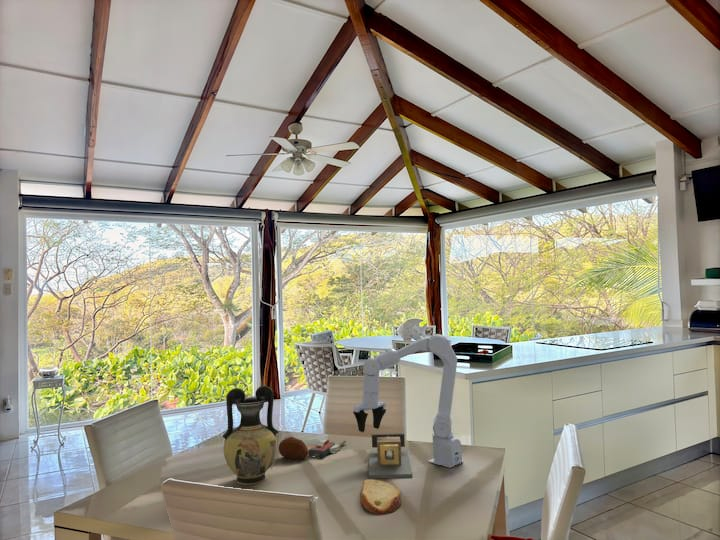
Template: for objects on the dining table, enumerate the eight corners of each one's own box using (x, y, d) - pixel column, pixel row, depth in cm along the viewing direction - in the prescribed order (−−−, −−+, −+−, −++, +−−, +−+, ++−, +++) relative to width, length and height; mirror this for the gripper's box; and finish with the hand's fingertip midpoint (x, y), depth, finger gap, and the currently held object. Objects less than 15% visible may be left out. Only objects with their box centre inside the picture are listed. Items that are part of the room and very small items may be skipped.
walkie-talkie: (327, 460, 174) (347, 445, 193) (327, 448, 174) (347, 433, 193) (305, 458, 177) (328, 443, 196) (305, 446, 177) (327, 432, 196)
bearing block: (377, 459, 168) (377, 437, 169) (400, 459, 168) (399, 436, 169) (377, 465, 162) (377, 442, 163) (401, 465, 162) (400, 441, 163)
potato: (304, 462, 171) (303, 440, 172) (274, 461, 174) (273, 439, 174) (311, 456, 179) (310, 434, 179) (282, 455, 181) (281, 433, 182)
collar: (380, 463, 160) (380, 444, 161) (398, 462, 160) (397, 444, 160) (380, 464, 159) (380, 446, 159) (398, 464, 159) (398, 445, 159)
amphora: (226, 493, 144) (225, 393, 147) (220, 476, 160) (219, 385, 162) (283, 484, 151) (281, 387, 153) (272, 468, 166) (271, 380, 169)
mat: (369, 453, 179) (369, 450, 179) (407, 452, 179) (407, 449, 179) (368, 478, 153) (368, 475, 154) (412, 477, 153) (412, 474, 153)
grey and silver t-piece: (372, 446, 178) (371, 434, 178) (404, 445, 178) (404, 433, 178) (371, 465, 157) (371, 451, 157) (408, 464, 156) (407, 450, 157)
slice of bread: (371, 483, 150) (371, 471, 150) (420, 496, 138) (419, 483, 139) (332, 503, 136) (332, 489, 136) (383, 519, 124) (383, 504, 125)
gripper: (376, 388, 181) (374, 424, 180) (348, 391, 171) (346, 430, 170) (390, 391, 176) (388, 428, 175) (362, 395, 166) (360, 435, 165)
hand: (368, 429), depth 172 cm, fingers open, 7 cm apart
